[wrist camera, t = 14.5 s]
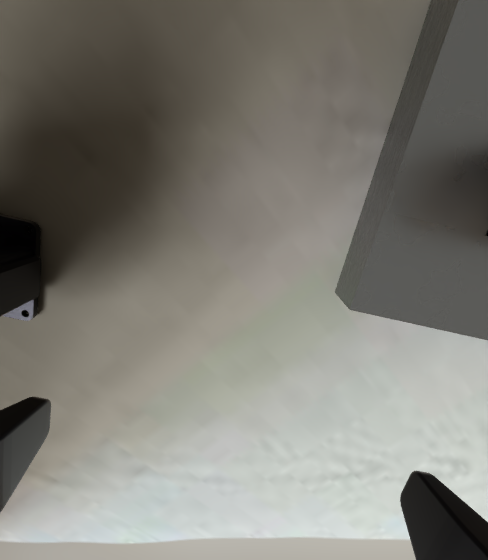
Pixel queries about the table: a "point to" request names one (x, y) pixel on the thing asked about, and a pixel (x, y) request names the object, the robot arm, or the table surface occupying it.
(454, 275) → the socket block
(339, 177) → the table surface
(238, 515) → the table surface
